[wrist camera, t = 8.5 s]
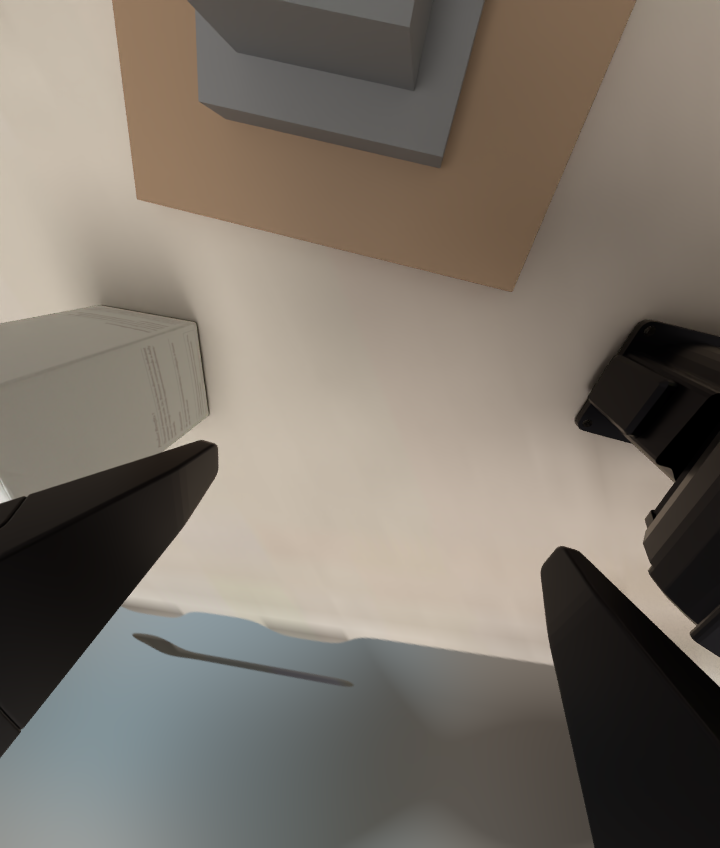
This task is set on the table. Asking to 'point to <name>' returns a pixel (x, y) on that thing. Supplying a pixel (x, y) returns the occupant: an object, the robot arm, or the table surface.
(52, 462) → the supplement box
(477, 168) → the tan base plate
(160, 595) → the table surface
